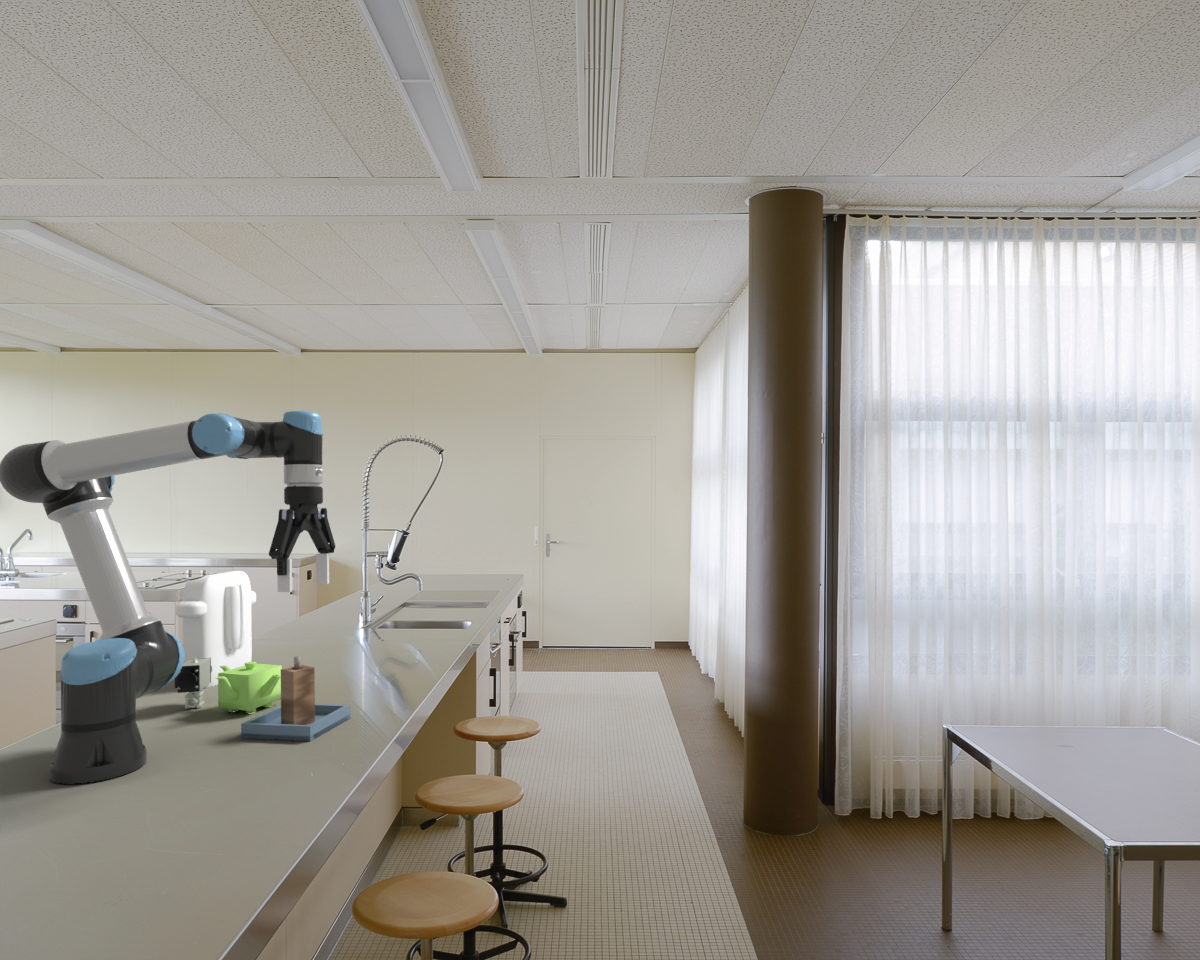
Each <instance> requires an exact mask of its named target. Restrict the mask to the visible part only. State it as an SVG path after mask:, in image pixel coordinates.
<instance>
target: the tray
mask: <svg viewBox="0 0 1200 960" xmlns="http://www.w3.org/2000/svg"><path fill="white" fill-rule="evenodd" d="M350 719H351V705H350V704H336V703H335V704H332V703H331V704H330V703H329V704H328V703H315V722H313V723H311V724H307V725H295V724H281V705H279V706H276V707H275V708H273V709H271V710H268V711H266V712H264V713H262V714H259V715H257V716H255V717H253V718H250V719H248V720H247V721H244V722H243V723H241V724H240V726H241V727H240V735H241V736H240V738H241V739H248V738H257V739H256V740H270V739H278V741H292V740H294V741H296V742H311V741H313V740H315V739H317V738H319V737H321V736H322V735H324V734H326V733H328V732H329V731H330V730H333V729H335V728H337V726H340V725H341V724H343V723H345V722H347V721H348V720H350Z"/></svg>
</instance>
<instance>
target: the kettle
mask: <svg viewBox="0 0 1200 960" xmlns="http://www.w3.org/2000/svg"><path fill="white" fill-rule="evenodd" d="M219 667H221V668H222V669H223V671H224V672H221V673H218V677H216V679H218V685H217V689H218V690H217V696H218V697H217V700H218V701H217V703H218V704H217V706H218V709H226V710H228V711H229V712H233V711H237V710H238V711H245V714H246V713H252V712H255V711H256V712H257V708H260V707H262V708H263V707H269V706H272V705H273V704H272V703H274V702H276V701H281V669H283V666H282V665H281V664H280V665H279V664H267V663H257V661H251V662H247V663H245V666H241V667H238V668H234V669H230V668H229V667H228V666H219ZM238 711H237V712H238ZM233 713H234V712H233Z"/></svg>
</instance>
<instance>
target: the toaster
mask: <svg viewBox="0 0 1200 960" xmlns="http://www.w3.org/2000/svg"><path fill="white" fill-rule="evenodd" d="M249 577H250V576H248V574H247V573H246V572H245V571H243V570H231V571H226V572H219V573H218V572H217V573H212V574H207V575H204V576H202V577H200V578H196V579H194V580H187V581H186V582H185V585H184V588H183V594H182V601H180V602H178V603H177V604H176V606H175V615H176V617H178V618H181V619H182V646H183V649H184V663H185V662H187V661H188V660H190V659H193V658H194V657H197V659H199V658H211V667H212V672H211V683H209V684H208V685H207V686H205V687H204V688H203V689H207V688H206V687H209V688H212V687H211V686H213V687H216V686H218V685H217V684H218V679H216V677H218V673H221V672H224V671H223V669H222V668H221V667H219V666H228V667H229V668H230V669H234V668H238V667H241V666H245V663H247V662H252V659H253V657H252V655H253V653H252V652H253V645H252V644H253V643H252V642H253V641H252V640H253V639H252V637H253V635H252V630H253V629H252V622H253V621H252V619H253V618H252V617H253V616H252V605H254V604H255V603H256V602H257V593H256V591H254V590H252V585H251V579H250V578H249ZM215 685H216V686H215Z"/></svg>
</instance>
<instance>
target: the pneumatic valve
mask: <svg viewBox="0 0 1200 960" xmlns="http://www.w3.org/2000/svg"><path fill="white" fill-rule="evenodd" d="M211 672H212V667H211V658H199V659H197V657H194V658H193V659H190V660H188V661H187V662H185V663H183V666H182V668H181V670H180V672H179V674H178V675H177V677H176V678H175V679H174V689H177V693H178V694H181V693H183V694H184V693H187V694H185V696H184V698H185V706H184V708H185V710H188V709H195V708H196V709H201V707H202V706H204V705H205V702H206V701H204V700H205V696H204V695H205V690H203V689H205V688H204V687H205V686H207V685H208V684H209V683H211Z"/></svg>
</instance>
